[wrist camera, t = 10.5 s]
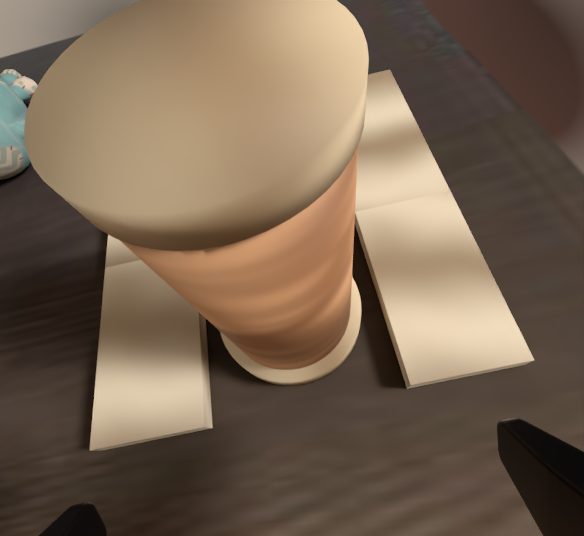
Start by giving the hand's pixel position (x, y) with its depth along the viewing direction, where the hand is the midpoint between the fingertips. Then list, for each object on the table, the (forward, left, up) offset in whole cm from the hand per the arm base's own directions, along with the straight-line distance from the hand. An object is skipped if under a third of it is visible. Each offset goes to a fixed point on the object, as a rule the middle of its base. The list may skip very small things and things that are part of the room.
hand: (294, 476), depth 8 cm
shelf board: (+10, +6, -8) cm, 14 cm away
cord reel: (+5, +4, -8) cm, 10 cm away
